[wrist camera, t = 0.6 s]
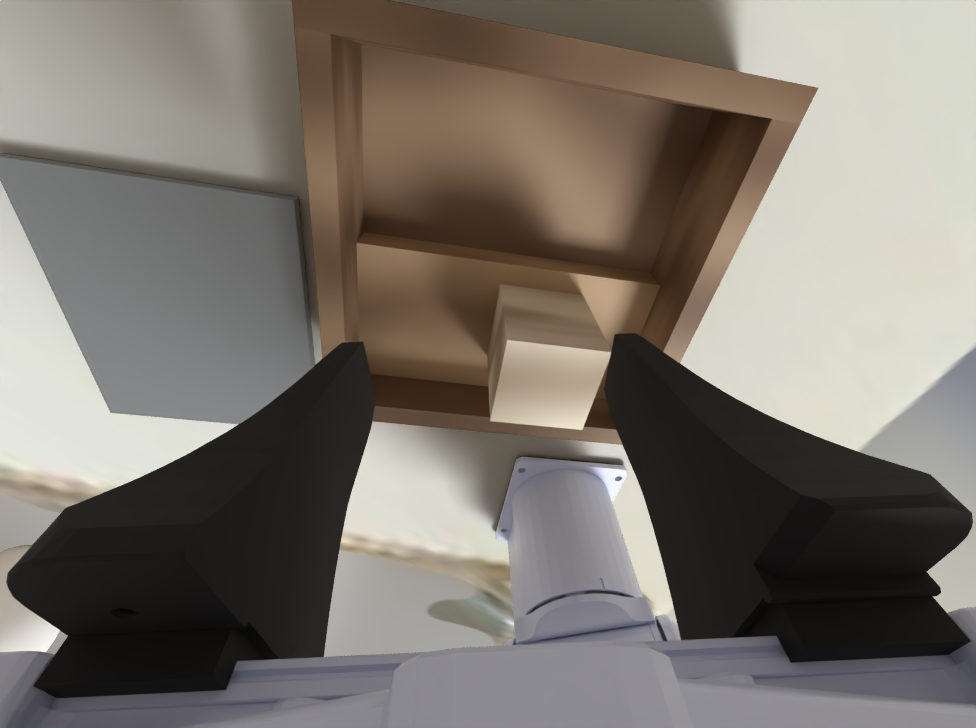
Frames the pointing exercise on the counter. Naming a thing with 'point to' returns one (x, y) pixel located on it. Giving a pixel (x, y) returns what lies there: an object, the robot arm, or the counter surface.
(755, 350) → the counter surface
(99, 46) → the counter surface
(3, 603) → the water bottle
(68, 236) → the grey mat
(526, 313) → the birch block
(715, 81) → the walnut crate
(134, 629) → the robot arm
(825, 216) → the counter surface
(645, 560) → the counter surface
